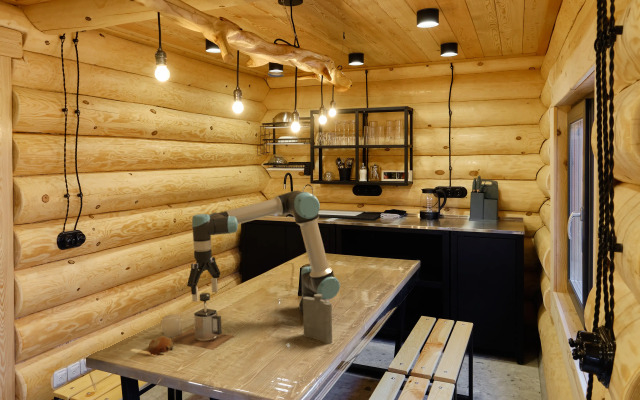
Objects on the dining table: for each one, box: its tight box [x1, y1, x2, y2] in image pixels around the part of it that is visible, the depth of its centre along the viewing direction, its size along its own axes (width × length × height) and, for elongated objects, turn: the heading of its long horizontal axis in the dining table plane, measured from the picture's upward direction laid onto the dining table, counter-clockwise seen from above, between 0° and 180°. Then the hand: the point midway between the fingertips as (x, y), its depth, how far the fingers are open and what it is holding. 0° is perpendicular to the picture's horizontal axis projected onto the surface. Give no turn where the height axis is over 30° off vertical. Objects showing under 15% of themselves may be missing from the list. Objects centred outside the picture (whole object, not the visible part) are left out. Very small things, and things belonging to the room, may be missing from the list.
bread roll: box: [147, 335, 175, 356], centre depth 209 cm, size 10×10×8 cm
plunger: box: [199, 292, 211, 313], centre depth 219 cm, size 7×7×18 cm
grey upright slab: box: [302, 294, 333, 345], centre depth 218 cm, size 16×4×20 cm, turn 49°
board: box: [170, 327, 235, 351], centre depth 219 cm, size 24×16×1 cm, turn 65°
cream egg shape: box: [160, 314, 182, 338], centre depth 224 cm, size 9×8×9 cm
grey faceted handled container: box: [193, 308, 223, 341], centre depth 219 cm, size 13×10×12 cm
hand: (205, 296), depth 218 cm, fingers open, 13 cm apart
